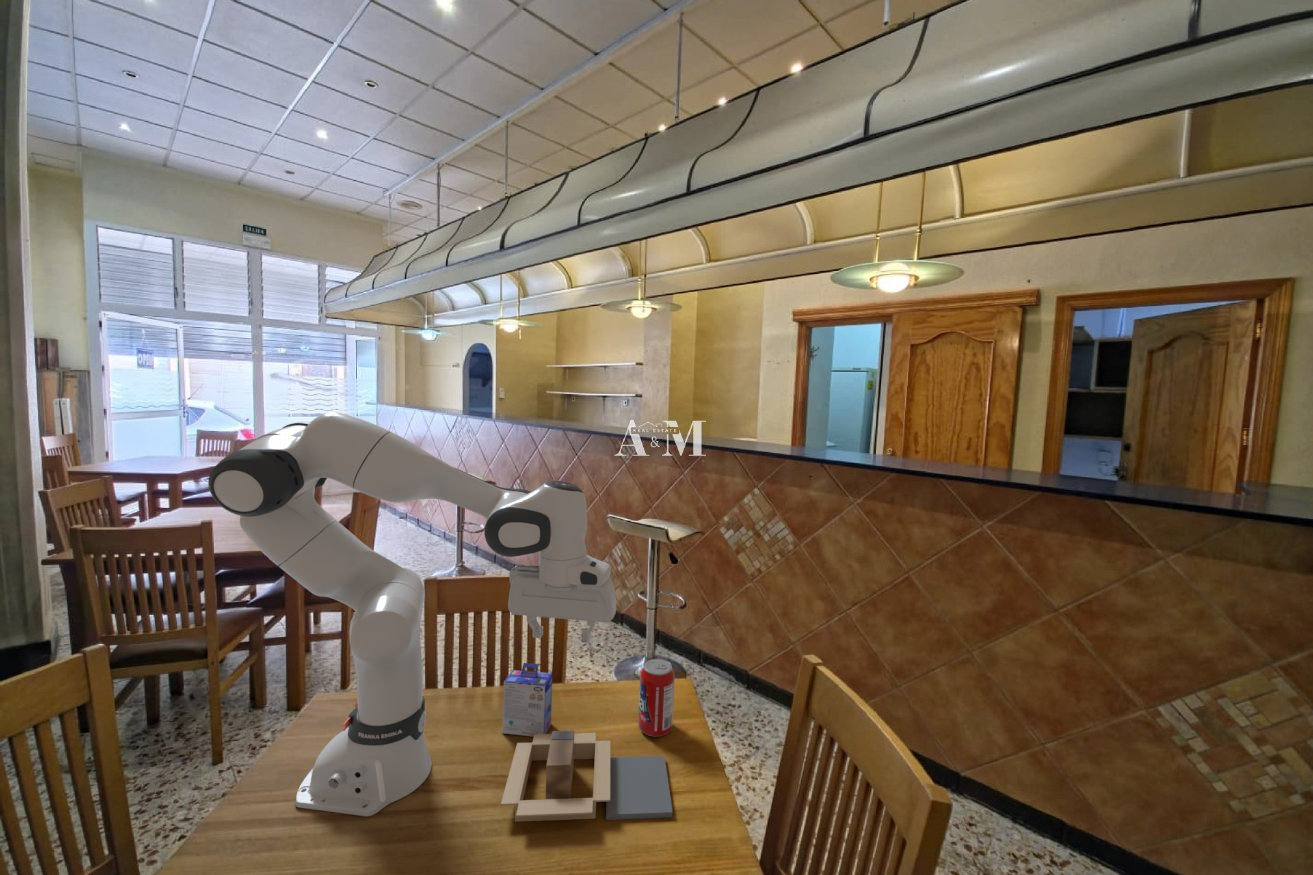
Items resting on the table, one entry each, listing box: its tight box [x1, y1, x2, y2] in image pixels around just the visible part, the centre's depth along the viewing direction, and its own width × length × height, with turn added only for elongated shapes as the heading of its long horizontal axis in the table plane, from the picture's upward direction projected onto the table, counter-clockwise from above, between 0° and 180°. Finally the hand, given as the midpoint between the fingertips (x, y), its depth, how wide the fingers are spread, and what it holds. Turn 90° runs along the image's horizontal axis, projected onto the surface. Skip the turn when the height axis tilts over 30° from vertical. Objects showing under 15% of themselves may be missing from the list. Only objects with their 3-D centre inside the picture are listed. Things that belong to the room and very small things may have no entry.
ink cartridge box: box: [501, 662, 553, 738], centre depth 110 cm, size 10×6×14 cm, turn 84°
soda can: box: [638, 658, 676, 737], centre depth 112 cm, size 8×8×15 cm
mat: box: [605, 755, 674, 821], centre depth 95 cm, size 12×14×1 cm
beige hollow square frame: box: [500, 732, 611, 823], centre depth 95 cm, size 19×20×4 cm
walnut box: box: [545, 730, 575, 799], centre depth 95 cm, size 4×9×8 cm, turn 5°
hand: (561, 638), depth 93 cm, fingers open, 8 cm apart
